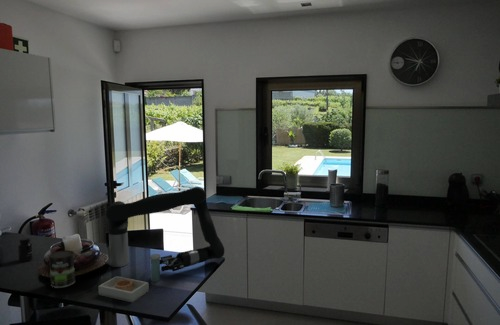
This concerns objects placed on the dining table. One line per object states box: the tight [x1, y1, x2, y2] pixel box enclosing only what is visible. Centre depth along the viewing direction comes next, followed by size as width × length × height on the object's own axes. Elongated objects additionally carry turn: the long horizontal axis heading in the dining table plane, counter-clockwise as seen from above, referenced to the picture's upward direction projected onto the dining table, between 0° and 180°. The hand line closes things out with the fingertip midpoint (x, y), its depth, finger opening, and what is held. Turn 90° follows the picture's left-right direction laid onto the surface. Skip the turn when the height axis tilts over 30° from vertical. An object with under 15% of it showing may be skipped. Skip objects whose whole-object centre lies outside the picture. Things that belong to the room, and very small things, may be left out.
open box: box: [98, 275, 150, 303], centre depth 158 cm, size 18×11×4 cm, turn 68°
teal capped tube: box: [149, 253, 161, 283], centre depth 170 cm, size 5×5×12 cm
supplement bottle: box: [17, 237, 34, 263], centre depth 195 cm, size 7×7×12 cm
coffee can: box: [48, 250, 76, 289], centre depth 167 cm, size 10×10×14 cm
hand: (157, 266), depth 171 cm, fingers open, 8 cm apart
